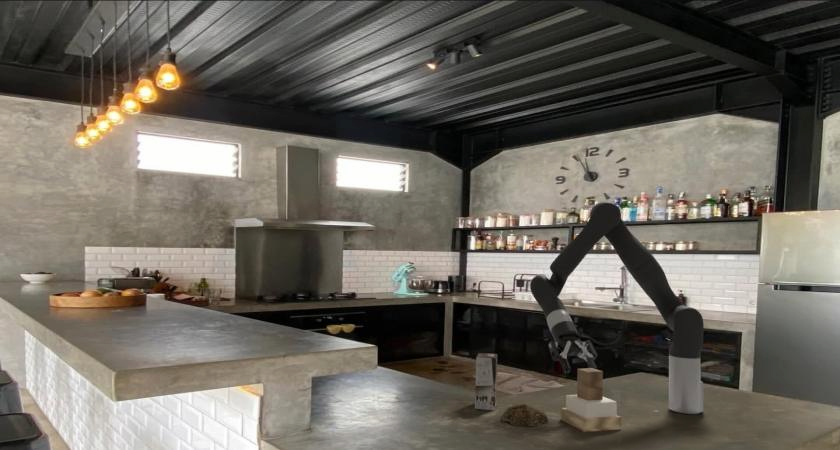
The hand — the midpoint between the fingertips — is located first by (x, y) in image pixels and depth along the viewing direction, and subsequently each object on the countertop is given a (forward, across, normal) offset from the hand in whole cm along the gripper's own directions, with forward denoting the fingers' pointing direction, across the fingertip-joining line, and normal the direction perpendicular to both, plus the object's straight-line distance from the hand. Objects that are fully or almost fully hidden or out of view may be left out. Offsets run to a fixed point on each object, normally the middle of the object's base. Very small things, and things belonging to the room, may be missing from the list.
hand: (581, 371), depth 168 cm
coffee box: (-4, -22, +24) cm, 33 cm away
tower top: (+11, 0, +4) cm, 12 cm away
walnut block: (+8, 0, +2) cm, 8 cm away
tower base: (+14, 0, +8) cm, 16 cm away
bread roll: (+8, -17, +12) cm, 23 cm away
